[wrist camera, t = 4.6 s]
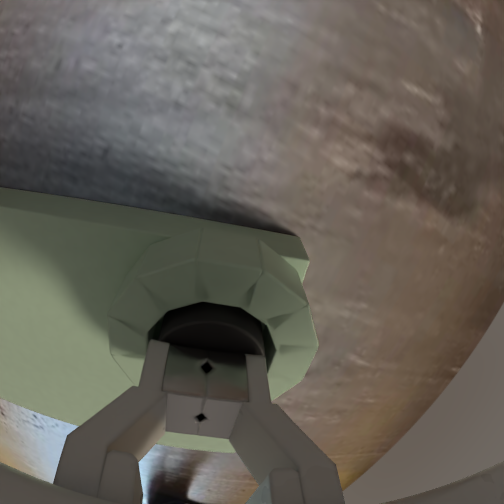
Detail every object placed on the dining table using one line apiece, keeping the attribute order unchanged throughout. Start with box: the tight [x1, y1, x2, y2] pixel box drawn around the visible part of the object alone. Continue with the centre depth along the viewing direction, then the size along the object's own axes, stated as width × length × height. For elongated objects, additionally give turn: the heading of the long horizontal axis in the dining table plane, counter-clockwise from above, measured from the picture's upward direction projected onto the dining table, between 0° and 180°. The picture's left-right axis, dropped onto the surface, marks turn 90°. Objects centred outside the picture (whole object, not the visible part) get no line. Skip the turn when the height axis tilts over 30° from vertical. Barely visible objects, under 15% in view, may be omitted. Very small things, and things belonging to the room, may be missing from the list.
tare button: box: [158, 301, 266, 359], centre depth 9 cm, size 3×3×2 cm
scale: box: [0, 187, 319, 453], centre depth 11 cm, size 14×12×4 cm
